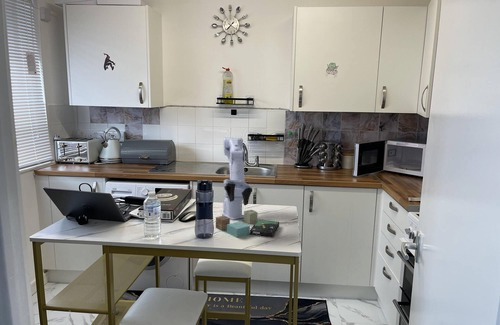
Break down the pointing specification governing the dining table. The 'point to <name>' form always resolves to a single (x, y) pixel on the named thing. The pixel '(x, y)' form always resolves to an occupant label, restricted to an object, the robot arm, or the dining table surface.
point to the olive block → (250, 216)
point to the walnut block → (222, 222)
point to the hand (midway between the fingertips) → (239, 202)
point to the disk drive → (264, 228)
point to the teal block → (238, 229)
